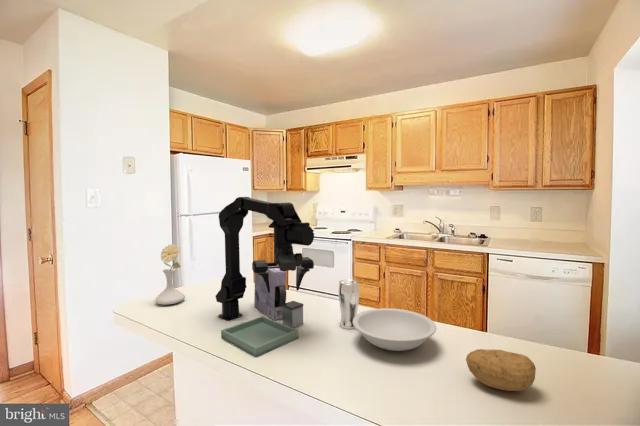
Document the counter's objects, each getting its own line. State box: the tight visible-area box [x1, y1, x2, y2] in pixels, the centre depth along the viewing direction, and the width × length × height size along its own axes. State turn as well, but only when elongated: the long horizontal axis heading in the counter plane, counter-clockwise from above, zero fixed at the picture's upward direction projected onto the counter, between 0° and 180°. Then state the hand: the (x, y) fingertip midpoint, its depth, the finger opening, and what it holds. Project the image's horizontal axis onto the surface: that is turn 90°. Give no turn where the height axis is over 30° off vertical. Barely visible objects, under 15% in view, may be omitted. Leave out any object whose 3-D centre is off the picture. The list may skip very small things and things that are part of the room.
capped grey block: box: [281, 300, 304, 329], centre depth 110 cm, size 5×5×7 cm
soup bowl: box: [353, 307, 437, 352], centre depth 95 cm, size 24×24×7 cm
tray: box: [220, 315, 299, 358], centre depth 100 cm, size 18×16×2 cm
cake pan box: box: [253, 268, 287, 321], centre depth 122 cm, size 19×5×18 cm, turn 34°
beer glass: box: [338, 279, 360, 330], centre depth 109 cm, size 7×7×15 cm
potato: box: [465, 348, 537, 392], centre depth 74 cm, size 10×14×8 cm
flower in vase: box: [154, 243, 186, 306], centre depth 134 cm, size 13×11×25 cm
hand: (283, 291), depth 102 cm, fingers open, 9 cm apart
